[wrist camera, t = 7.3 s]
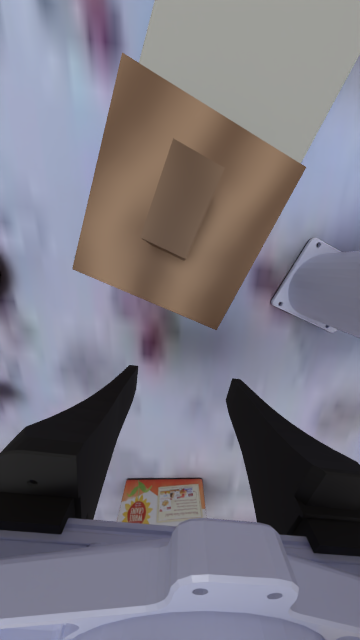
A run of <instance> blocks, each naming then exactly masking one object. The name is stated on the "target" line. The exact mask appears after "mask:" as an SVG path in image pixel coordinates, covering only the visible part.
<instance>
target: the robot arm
mask: <svg viewBox="0 0 360 640" xmlns="http://www.w3.org/2000/svg"><path fill="white" fill-rule="evenodd" d="M317 243H318V247H316V244H317ZM279 302H281V304H280V305H278V303H279ZM271 304H272V305H273V306H276V307H278V308H280V309H282V310H284V311H286V312H288V313H290V314H292V315H295V316H297V317H299V318H301V319H303V320H305V321H307V322H309V323H312V324H314V325H316V326H318V327H320V328H322V329H324V330H326V331H328V332H331V333H334V332H336V331H337V330H341V331H343V332H346V333H348V334H351V335H353V336H356V337H358V338H360V251H350V252H341V251H340V250H338V249H336V248H334V247H332V246H331V245H329V244H327V243H325V242H323V241H322V240H320V239H318V238H312V239H310V240H309V241H308V243H307V245H306V246H305V248H304V249H303V251H302V253H301V254H300V256H299V257H298V259H297V261H296V262H295V264H294V265H293V267H292V269H291V270H290V272H289V273H288V275H287V277H286V278H285V280H284V281H283V283H282V285H281V286H280V288H279V289H278V291H277V293H276V294H275V296H274V297H273V299H272V301H271ZM326 325H327V326H326ZM325 326H326V327H325ZM137 374H138V366H134V365H129V366H128V367H127V368H126V369H125V370H124V371H123V372H122V373H121V374H119V375H118V376H117V377H116V378H115V379H114V380H112V381H111V382H110V383H109V384H107V385H106V386H105V387H104V388H102V389H101V390H99V391H98V392H97V393H95V394H94V395H92V396H91V397H89V398H87V399H86V400H84V401H82V402H80V403H79V404H77V405H75V406H73V407H71V408H69V409H67V410H65V411H63V412H61V413H59V414H56V415H54V416H52V417H50V418H47V419H45V420H42V421H39V422H37V423H34V424H32V425H29V426H26V427H25V428H24V429H23V430H22V431H21V432H20V433H19V434H18V435H17V436H16V437H15V438H14V439H13V440H12V441H11V442H10V443H9V444H8V445H7V446H6V447H5V449H4V450H3V451H2V452H1V453H0V640H360V465H359V463H358V462H356V461H354V460H352V459H350V458H348V457H347V456H345V455H343V454H341V453H339V452H337V451H335V450H333V449H331V448H330V447H328V446H326V445H324V444H323V443H321V442H319V441H318V440H316V439H314V438H313V437H311V436H309V435H308V434H306V433H305V432H303V431H302V430H300V429H299V428H297V427H296V426H294V425H293V424H292V423H290V422H289V421H288V420H286V419H285V418H284V417H282V416H281V415H280V414H278V413H277V412H276V411H275V410H273V409H272V408H271V407H270V406H269V405H268V404H266V403H265V402H264V401H263V400H262V399H261V398H260V397H259V396H258V395H257V394H255V393H254V392H253V391H252V390H251V389H250V388H249V387H248V386H247V385H246V384H245V383H244V382H243V381H241V380H240V379H233V378H232V381H231V385H230V388H229V391H228V394H227V398H226V403H227V408H228V412H229V416H230V419H231V422H232V425H233V427H234V430H235V433H236V436H237V439H238V442H239V445H240V448H241V451H242V455H243V459H244V463H245V467H246V471H247V475H248V480H249V484H250V489H251V493H252V498H253V503H254V508H255V513H256V519H257V522H246V521H234V520H222V519H210V518H194V519H188V520H186V521H183V522H181V523H179V525H178V526H165V525H152V524H140V523H127V522H115V521H102V520H93V518H94V515H95V511H96V508H97V504H98V501H99V497H100V494H101V490H102V487H103V484H104V480H105V477H106V474H107V470H108V467H109V464H110V461H111V457H112V454H113V451H114V448H115V445H116V441H117V438H118V436H119V433H120V431H121V428H122V426H123V423H124V421H125V418H126V416H127V414H128V411H129V409H130V406H131V404H132V401H133V398H134V394H135V391H136V385H137Z"/></svg>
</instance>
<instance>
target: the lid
mask: <svg viewBox="0 0 360 640" xmlns="http://www.w3.org/2000/svg"><path fill="white" fill-rule="evenodd" d="M305 168H306V167H305V166H304V165H302V164H300V163H299V162H297V161H296V160H294V159H292V158H291V157H289V156H288V155H286V154H284V153H283V152H281V151H279V150H278V149H276V148H275V147H273V146H271V145H270V144H268V143H267V142H265V141H263V140H262V139H260V138H259V137H257V136H255V135H254V134H252V133H251V132H249V131H247V130H246V129H244V128H243V127H241V126H239V125H238V124H236V123H235V122H233V121H231V120H230V119H228V118H226V117H225V116H223V115H222V114H220V113H218V112H217V111H215V110H214V109H212V108H210V107H209V106H207V105H206V104H204V103H202V102H201V101H199V100H198V99H196V98H194V97H193V96H191V95H190V94H188V93H186V92H185V91H183V90H182V89H180V88H178V87H177V86H175V85H173V84H172V83H170V82H169V81H167V80H165V79H164V78H162V77H161V76H159V75H157V74H156V73H154V72H153V71H151V70H149V69H148V68H146V67H145V66H143V65H141V64H140V63H138V62H137V61H135V60H133V59H132V58H130V57H129V56H127V55H125V54H124V53H122V56H121V60H120V65H119V69H118V73H117V78H116V82H115V86H114V91H113V95H112V99H111V104H110V108H109V112H108V117H107V121H106V125H105V130H104V134H103V138H102V143H101V147H100V151H99V156H98V160H97V164H96V169H95V173H94V177H93V182H92V186H91V191H90V195H89V199H88V204H87V208H86V212H85V217H84V221H83V225H82V230H81V234H80V238H79V243H78V247H77V251H76V256H75V260H74V264H73V270H76V271H78V272H81V273H83V274H85V275H88V276H90V277H92V278H95V279H97V280H99V281H102V282H104V283H106V284H109V285H111V286H114V287H116V288H118V289H121V290H123V291H125V292H128V293H130V294H132V295H135V296H137V297H139V298H142V299H144V300H146V301H149V302H151V303H154V304H156V305H158V306H161V307H163V308H165V309H168V310H170V311H172V312H175V313H177V314H179V315H182V316H184V317H187V318H189V319H191V320H194V321H196V322H198V323H201V324H203V325H205V326H208V327H210V328H212V329H215V330H217V328H218V327H219V325H220V323H221V321H222V319H223V317H224V316H225V314H226V312H227V310H228V308H229V307H230V305H231V303H232V301H233V299H234V297H235V296H236V294H237V292H238V290H239V288H240V287H241V285H242V283H243V281H244V279H245V277H246V276H247V274H248V272H249V270H250V268H251V267H252V265H253V263H254V261H255V259H256V258H257V256H258V254H259V252H260V250H261V248H262V247H263V245H264V243H265V241H266V239H267V238H268V236H269V234H270V232H271V230H272V228H273V227H274V225H275V223H276V221H277V219H278V218H279V216H280V214H281V212H282V210H283V208H284V207H285V205H286V203H287V201H288V199H289V198H290V196H291V194H292V192H293V190H294V188H295V187H296V185H297V183H298V181H299V179H300V178H301V176H302V174H303V172H304V170H305Z"/></svg>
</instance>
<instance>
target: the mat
mask: <svg viewBox="0 0 360 640" xmlns="http://www.w3.org/2000/svg"><path fill="white" fill-rule="evenodd" d="M359 55H360V0H155V2H154V6H153V10H152V13H151V17H150V21H149V25H148V29H147V33H146V37H145V41H144V45H143V49H142V53H141V56H140V60H139V63H140V64H141V65H143V66H145V67H146V68H148V69H149V70H151V71H153V72H154V73H156V74H157V75H159V76H161V77H162V78H164V79H165V80H167V81H169V82H170V83H172V84H173V85H175V86H177V87H178V88H180V89H182V90H183V91H185V92H186V93H188V94H190V95H191V96H193V97H194V98H196V99H198V100H199V101H201V102H202V103H204V104H206V105H207V106H209V107H210V108H212V109H214V110H215V111H217V112H218V113H220V114H222V115H223V116H225V117H226V118H228V119H230V120H231V121H233V122H235V123H236V124H238V125H239V126H241V127H243V128H244V129H246V130H247V131H249V132H251V133H252V134H254V135H255V136H257V137H259V138H260V139H262V140H263V141H265V142H267V143H268V144H270V145H271V146H273V147H275V148H276V149H278V150H279V151H281V152H283V153H284V154H286V155H288V156H289V157H291V158H292V159H294V160H296V161H297V162H299V163H300V164H301V162H302V160H303V158H304V156H305V155H306V153H307V151H308V149H309V147H310V145H311V143H312V142H313V140H314V138H315V136H316V134H317V132H318V131H319V129H320V127H321V125H322V123H323V121H324V119H325V118H326V116H327V114H328V112H329V110H330V108H331V106H332V105H333V103H334V101H335V99H336V97H337V95H338V93H339V92H340V90H341V88H342V86H343V84H344V82H345V80H346V79H347V77H348V75H349V73H350V71H351V69H352V68H353V66H354V64H355V62H356V60H357V58H358V56H359Z"/></svg>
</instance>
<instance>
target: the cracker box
mask: <svg viewBox="0 0 360 640" xmlns="http://www.w3.org/2000/svg"><path fill="white" fill-rule="evenodd" d="M194 518H206V509H205V501H204V492H203V484H202V479H152V480H127V481H126V485H125V489H124V493H123V497H122V501H121V506H120V510H119V514H118V518H117V522H127V523H140V524H152V525H165V526H178V525H179V523H181V522H183V521H186V520H188V519H194Z"/></svg>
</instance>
